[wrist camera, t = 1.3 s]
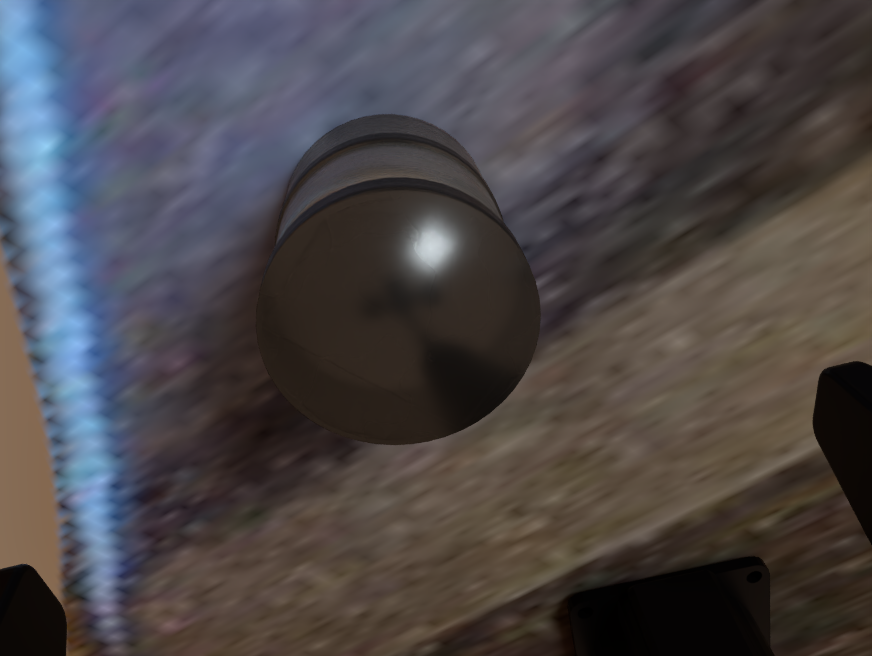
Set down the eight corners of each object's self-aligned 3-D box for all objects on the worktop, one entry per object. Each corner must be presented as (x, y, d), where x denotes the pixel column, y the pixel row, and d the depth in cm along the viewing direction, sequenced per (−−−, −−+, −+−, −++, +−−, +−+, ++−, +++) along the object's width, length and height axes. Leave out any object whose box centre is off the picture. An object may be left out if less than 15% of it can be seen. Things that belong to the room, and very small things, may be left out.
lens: (507, 286, 22) (557, 413, 16) (312, 329, 22) (300, 469, 16) (472, 88, 19) (518, 162, 14) (254, 136, 19) (217, 227, 14)
